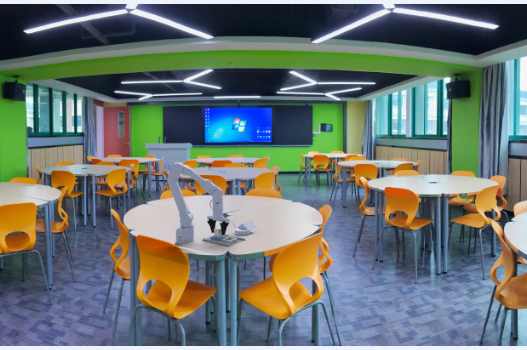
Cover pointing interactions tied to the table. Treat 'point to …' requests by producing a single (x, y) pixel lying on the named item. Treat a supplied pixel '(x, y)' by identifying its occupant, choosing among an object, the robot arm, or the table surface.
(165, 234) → the table surface
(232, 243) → the grey tray
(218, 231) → the plug
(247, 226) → the wedge on round base
